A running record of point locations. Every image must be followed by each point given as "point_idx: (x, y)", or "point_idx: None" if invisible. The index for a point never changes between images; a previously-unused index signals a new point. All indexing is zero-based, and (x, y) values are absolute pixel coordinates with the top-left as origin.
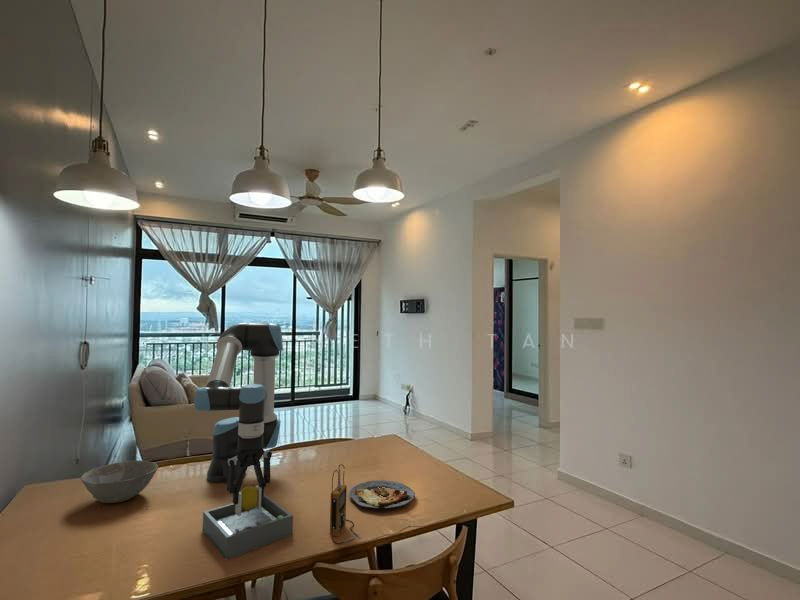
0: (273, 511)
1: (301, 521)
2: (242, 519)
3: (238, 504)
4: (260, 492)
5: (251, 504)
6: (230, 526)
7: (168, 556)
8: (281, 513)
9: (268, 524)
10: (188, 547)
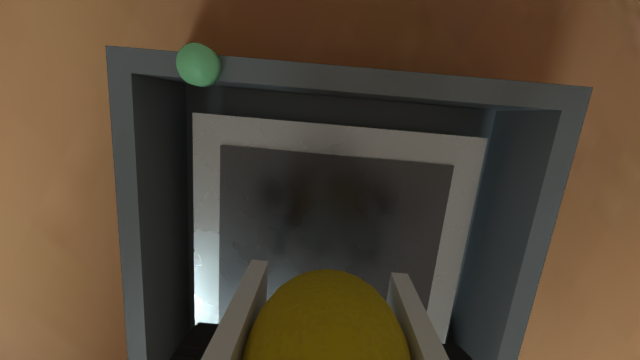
0: (168, 262)
1: (82, 151)
2: None
3: (430, 334)
4: (217, 350)
5: (337, 276)
6: (422, 269)
7: (630, 292)
8: (151, 173)
9: (300, 62)
10: (547, 299)
